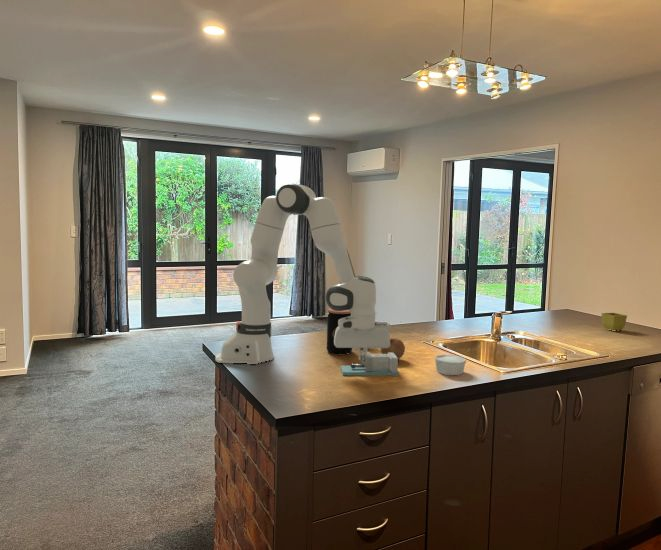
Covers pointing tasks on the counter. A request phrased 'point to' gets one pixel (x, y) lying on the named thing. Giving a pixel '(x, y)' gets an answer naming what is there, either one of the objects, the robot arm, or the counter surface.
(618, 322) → the flower pot
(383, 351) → the onion
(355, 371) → the vise
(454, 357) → the ramekin
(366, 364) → the jaw
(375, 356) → the block
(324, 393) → the counter surface
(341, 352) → the coffee jar
